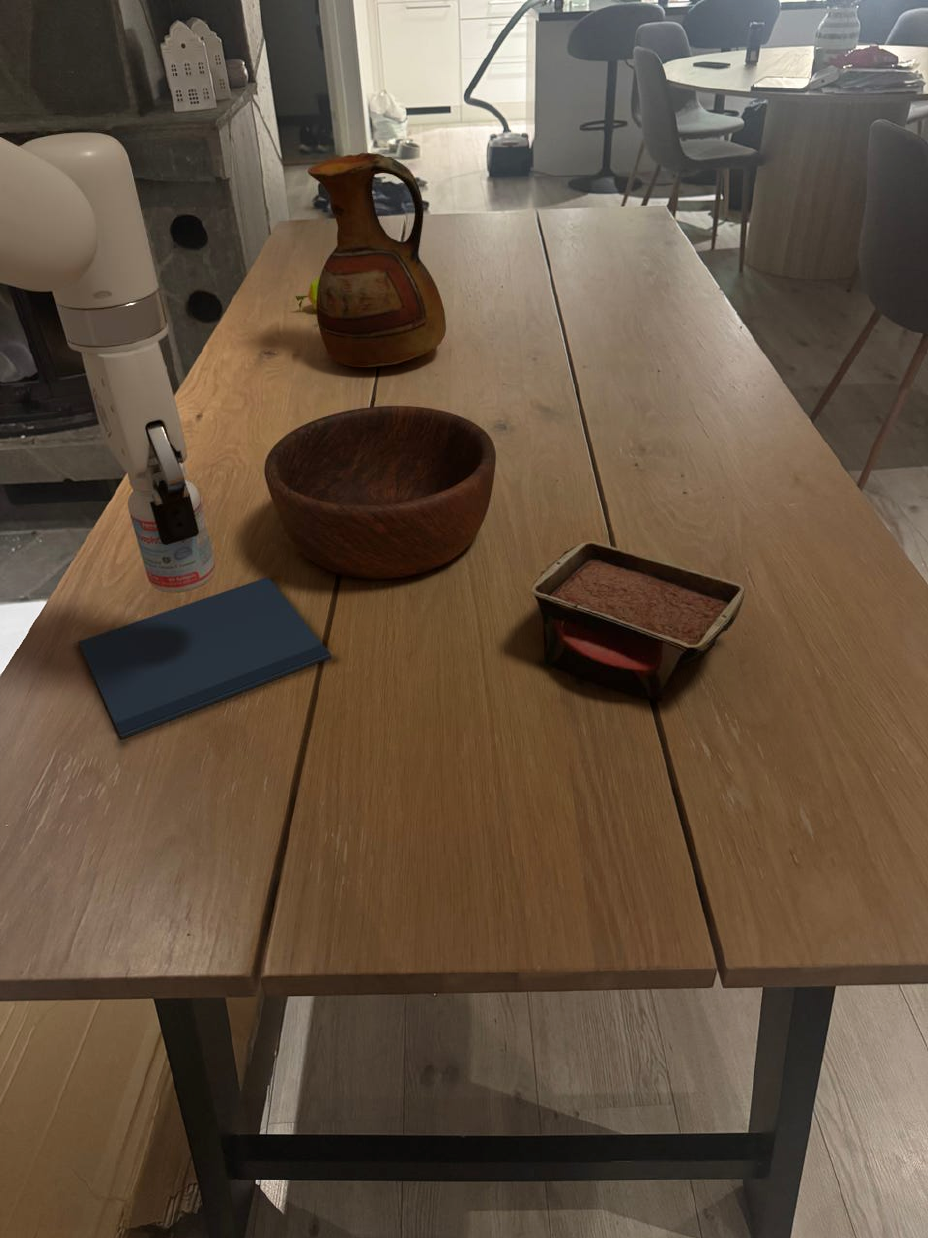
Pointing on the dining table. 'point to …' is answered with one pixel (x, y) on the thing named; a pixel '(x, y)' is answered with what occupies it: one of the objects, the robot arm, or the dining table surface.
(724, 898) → the dining table surface
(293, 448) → the wooden bowl
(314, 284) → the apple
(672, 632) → the baking dish
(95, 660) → the book
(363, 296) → the ceramic pitcher
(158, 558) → the pill bottle
